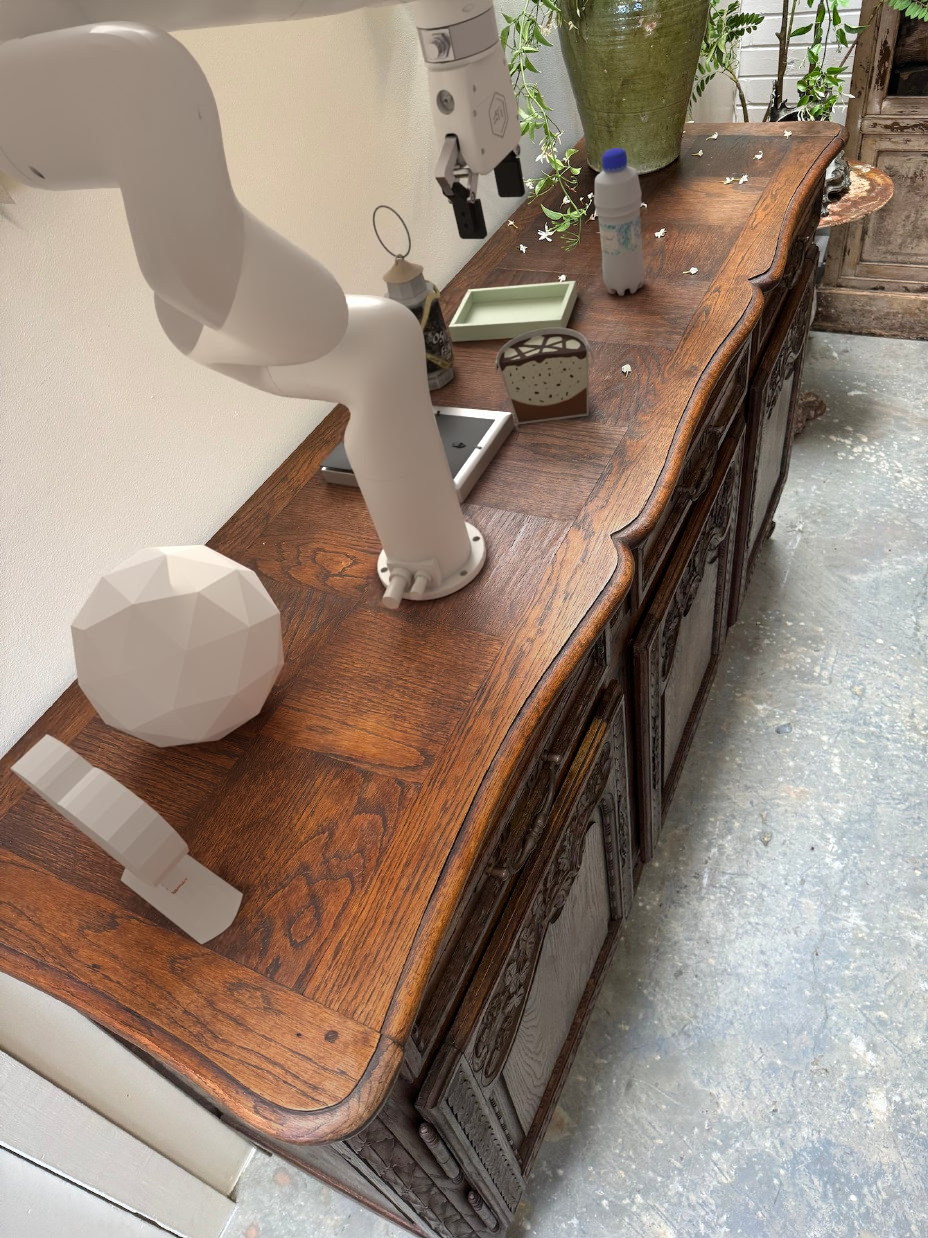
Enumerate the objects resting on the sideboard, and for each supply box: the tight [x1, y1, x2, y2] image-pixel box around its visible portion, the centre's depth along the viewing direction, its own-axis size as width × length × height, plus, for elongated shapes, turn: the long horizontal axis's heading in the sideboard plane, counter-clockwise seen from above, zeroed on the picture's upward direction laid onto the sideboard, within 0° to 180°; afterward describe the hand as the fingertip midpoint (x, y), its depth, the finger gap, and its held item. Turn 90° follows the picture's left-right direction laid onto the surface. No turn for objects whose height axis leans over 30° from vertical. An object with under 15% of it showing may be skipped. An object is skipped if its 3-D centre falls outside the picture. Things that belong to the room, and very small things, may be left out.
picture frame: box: [319, 405, 516, 504], centre depth 110 cm, size 16×3×21 cm
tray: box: [448, 280, 578, 343], centre depth 129 cm, size 12×18×2 cm, turn 74°
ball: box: [70, 544, 285, 748], centre depth 81 cm, size 19×20×20 cm
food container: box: [494, 327, 595, 426], centre depth 108 cm, size 12×6×10 cm, turn 84°
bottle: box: [593, 147, 646, 297], centre depth 122 cm, size 7×7×20 cm
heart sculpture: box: [9, 733, 244, 945], centre depth 67 cm, size 16×5×18 cm, turn 55°
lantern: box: [372, 204, 455, 392], centre depth 114 cm, size 9×8×25 cm
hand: (493, 216), depth 93 cm, fingers open, 9 cm apart
